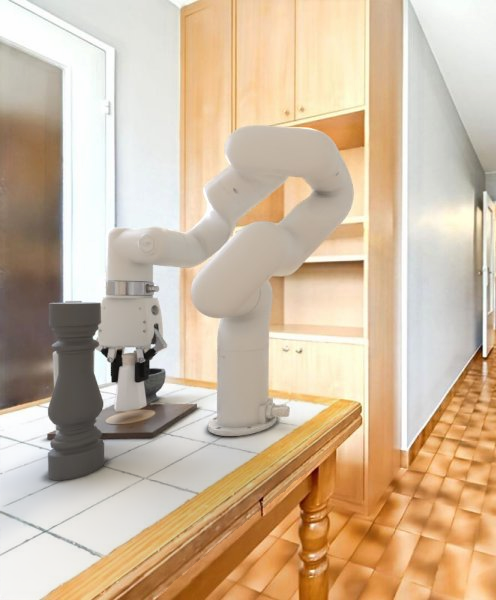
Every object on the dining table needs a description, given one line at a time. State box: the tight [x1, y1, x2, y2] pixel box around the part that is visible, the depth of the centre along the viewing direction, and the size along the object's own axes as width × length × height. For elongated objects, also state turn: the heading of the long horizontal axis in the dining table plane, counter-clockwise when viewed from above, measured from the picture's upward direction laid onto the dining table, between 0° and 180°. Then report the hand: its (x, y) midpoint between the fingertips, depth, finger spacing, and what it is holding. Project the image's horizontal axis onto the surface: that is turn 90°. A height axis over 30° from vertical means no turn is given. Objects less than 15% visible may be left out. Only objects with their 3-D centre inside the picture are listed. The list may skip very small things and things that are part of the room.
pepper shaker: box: [113, 352, 148, 412], centre depth 71 cm, size 5×5×11 cm
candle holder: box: [47, 301, 105, 481], centre depth 52 cm, size 6×6×25 cm
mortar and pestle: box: [115, 349, 167, 404], centre depth 84 cm, size 11×9×12 cm
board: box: [46, 403, 198, 440], centre depth 71 cm, size 18×16×1 cm
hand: (130, 379), depth 71 cm, fingers closed on pepper shaker, 3 cm apart
